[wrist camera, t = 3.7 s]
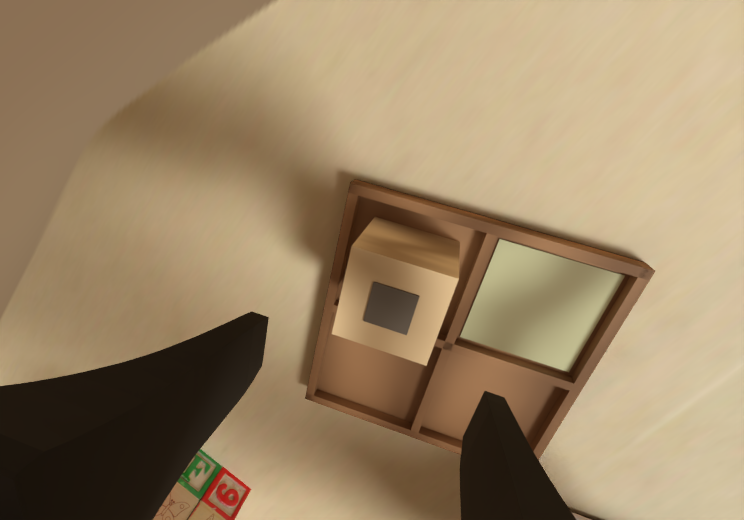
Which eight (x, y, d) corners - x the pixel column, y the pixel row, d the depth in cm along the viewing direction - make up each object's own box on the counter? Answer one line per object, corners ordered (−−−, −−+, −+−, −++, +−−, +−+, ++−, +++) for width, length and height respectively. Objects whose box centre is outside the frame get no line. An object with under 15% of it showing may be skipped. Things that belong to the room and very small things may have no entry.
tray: (645, 262, 18) (655, 271, 17) (524, 464, 24) (526, 478, 23) (355, 179, 19) (350, 182, 18) (310, 388, 25) (305, 398, 24)
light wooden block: (459, 242, 19) (458, 279, 15) (433, 315, 21) (426, 367, 17) (375, 216, 19) (351, 246, 15) (356, 290, 21) (331, 334, 17)
